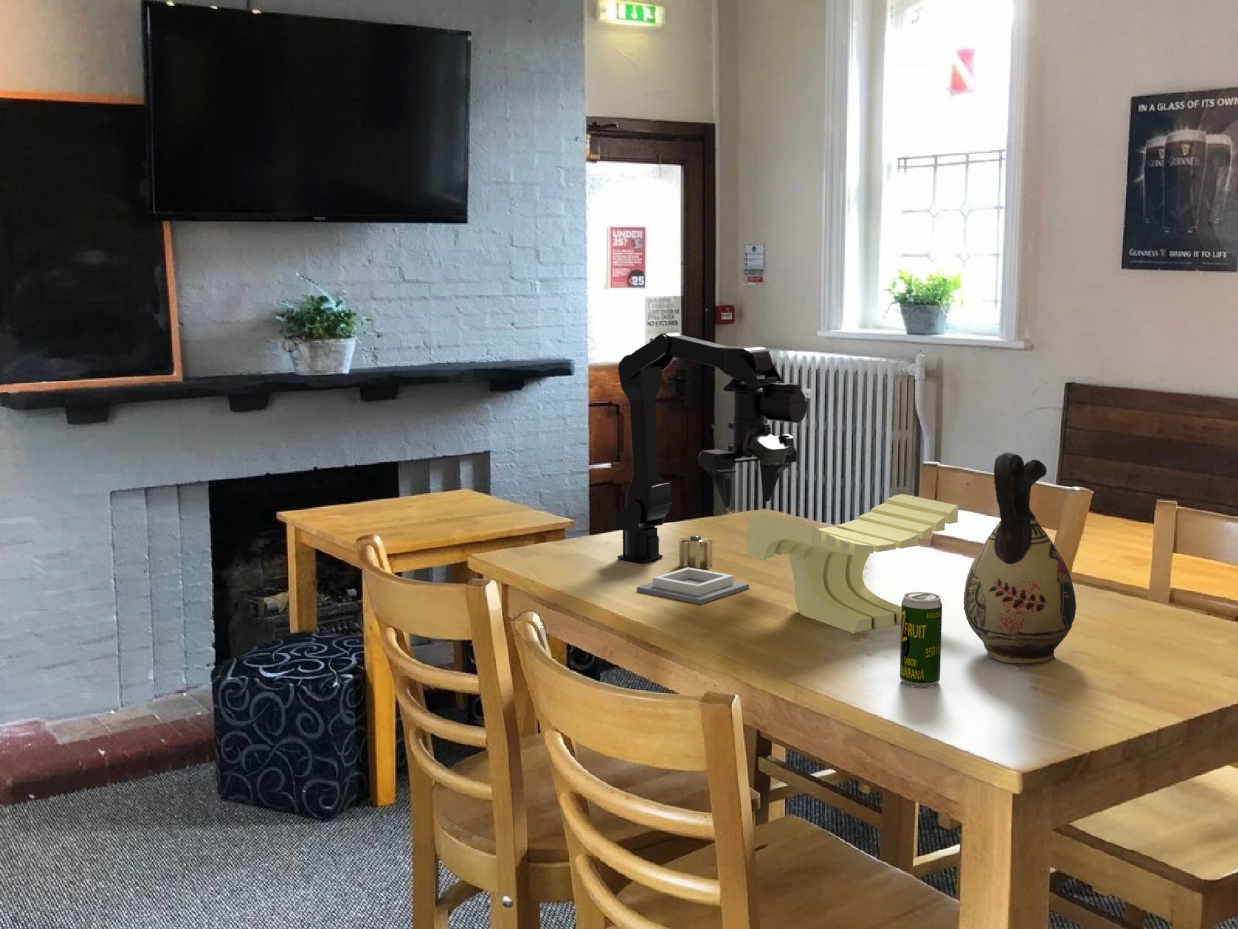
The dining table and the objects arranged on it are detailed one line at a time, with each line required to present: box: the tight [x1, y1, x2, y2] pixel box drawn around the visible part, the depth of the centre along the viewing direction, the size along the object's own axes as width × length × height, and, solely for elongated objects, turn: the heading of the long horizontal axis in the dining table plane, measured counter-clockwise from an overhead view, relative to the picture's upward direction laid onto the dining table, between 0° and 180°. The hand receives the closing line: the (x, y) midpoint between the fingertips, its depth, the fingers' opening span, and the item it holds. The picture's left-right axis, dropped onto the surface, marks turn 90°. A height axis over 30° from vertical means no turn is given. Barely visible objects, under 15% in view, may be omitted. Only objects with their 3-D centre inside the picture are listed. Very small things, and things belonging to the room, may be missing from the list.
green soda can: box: [899, 591, 943, 688], centre depth 177 cm, size 5×5×12 cm
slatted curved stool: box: [747, 493, 959, 634], centre depth 210 cm, size 30×16×18 cm, turn 121°
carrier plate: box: [636, 567, 750, 605], centre depth 229 cm, size 14×14×2 cm
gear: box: [678, 535, 713, 570], centre depth 247 cm, size 6×6×6 cm
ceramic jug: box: [963, 452, 1077, 664], centre depth 186 cm, size 17×15×30 cm
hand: (747, 503), depth 236 cm, fingers open, 9 cm apart
